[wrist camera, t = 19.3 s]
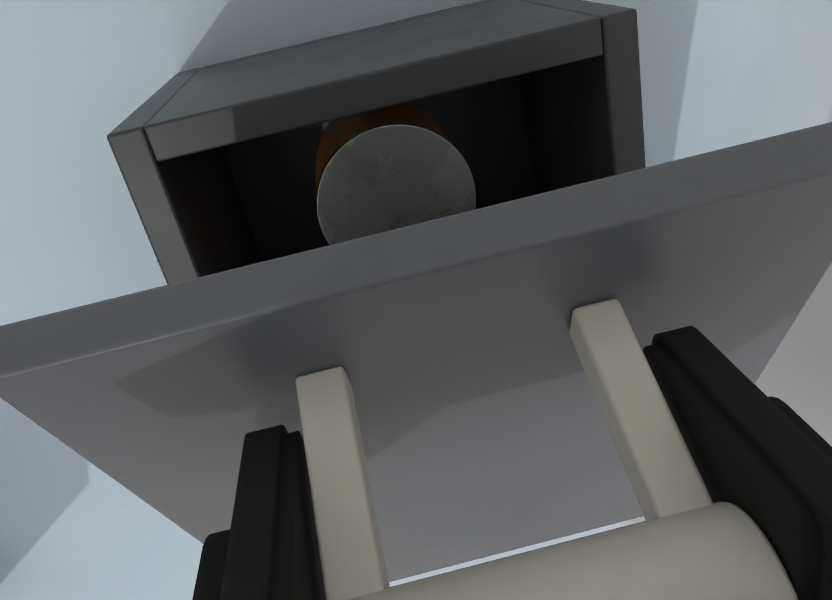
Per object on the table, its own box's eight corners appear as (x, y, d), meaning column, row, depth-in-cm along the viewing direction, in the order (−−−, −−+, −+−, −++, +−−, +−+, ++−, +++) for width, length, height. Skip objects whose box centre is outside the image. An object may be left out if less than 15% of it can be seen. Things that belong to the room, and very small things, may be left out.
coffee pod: (298, 114, 23) (296, 146, 19) (436, 81, 23) (461, 106, 19) (335, 242, 25) (339, 294, 21) (460, 211, 25) (487, 257, 21)
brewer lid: (-17, 328, 9) (-111, 931, 6) (867, 110, 9) (1266, 562, 6) (287, 579, 21) (313, 818, 18) (666, 482, 21) (761, 699, 18)
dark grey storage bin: (176, 73, 23) (104, 135, 15) (525, -10, 23) (637, 8, 15) (295, 411, 29) (289, 581, 21) (569, 342, 29) (664, 484, 21)
